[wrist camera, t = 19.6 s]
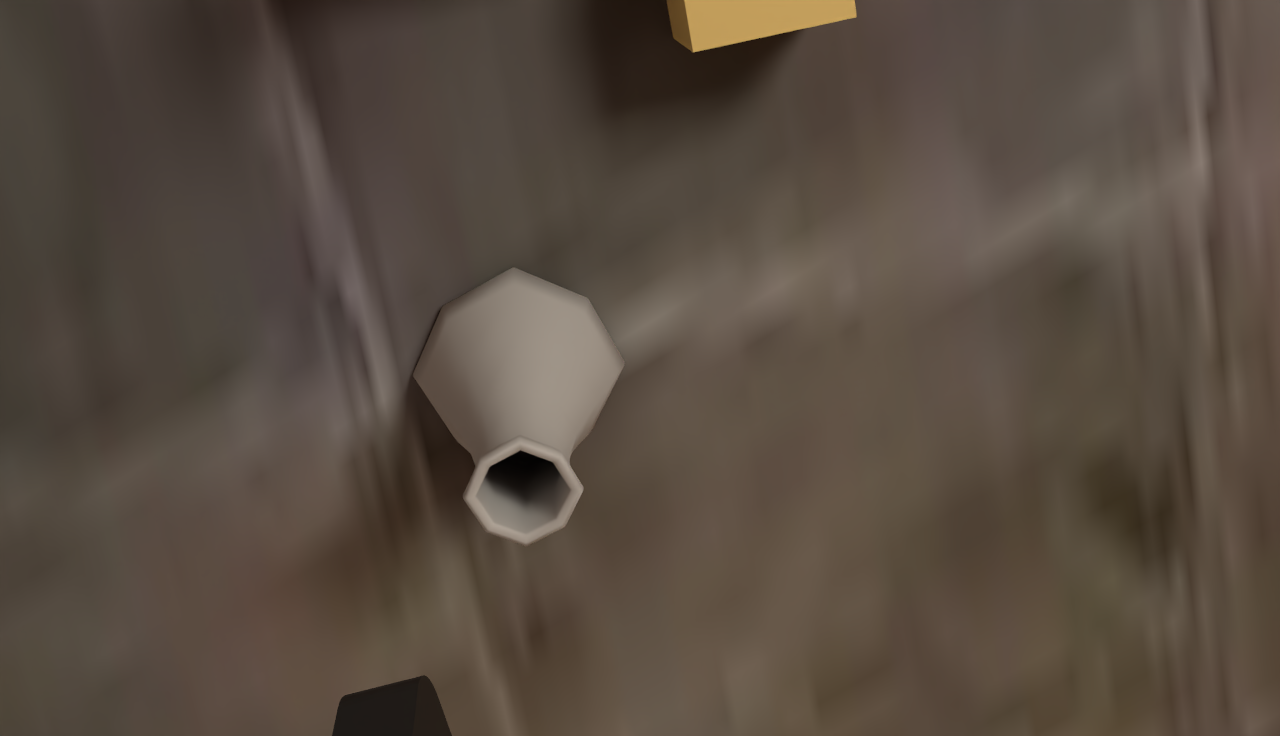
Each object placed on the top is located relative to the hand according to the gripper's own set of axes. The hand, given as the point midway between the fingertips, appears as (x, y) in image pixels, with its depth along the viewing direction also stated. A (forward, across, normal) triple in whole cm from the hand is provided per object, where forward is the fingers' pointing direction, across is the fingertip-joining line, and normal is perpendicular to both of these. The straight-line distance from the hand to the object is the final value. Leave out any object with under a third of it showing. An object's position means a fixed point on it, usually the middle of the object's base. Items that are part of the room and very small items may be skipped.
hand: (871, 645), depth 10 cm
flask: (+30, +5, +8) cm, 32 cm away
